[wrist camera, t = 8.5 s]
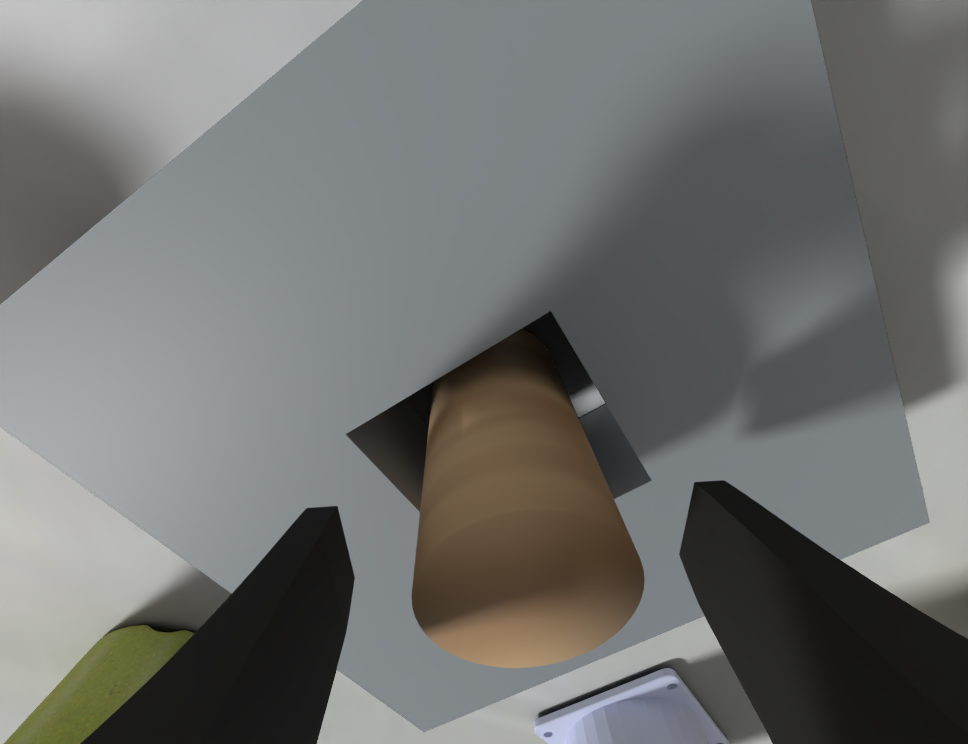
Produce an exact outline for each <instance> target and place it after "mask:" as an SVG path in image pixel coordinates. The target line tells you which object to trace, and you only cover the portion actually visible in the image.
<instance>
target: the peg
mask: <svg viewBox="0 0 968 744" xmlns="http://www.w3.org/2000/svg"><path fill="white" fill-rule="evenodd" d="M644 581H645V577H644V569H643V566H642V563H641V560H640V557H639V555H638V553H637V550H636V548H635V546H634V543H633V541H632V539H631V537H630V534H629V532H628V530H627V528H626V525H625V523H624V521H623V518H622V516H621V514H620V512H619V509H618V507H617V505H616V503H615V500H614V498H613V496H612V493H611V491H610V489H609V487H608V484H607V482H606V480H605V478H604V475H603V473H602V471H601V469H600V466H599V464H598V462H597V459H596V457H595V455H594V453H593V450H592V448H591V446H590V444H589V441H588V439H587V437H586V434H585V432H584V430H583V428H582V425H581V423H580V421H579V419H578V416H577V414H576V412H575V409H574V407H573V405H572V403H571V400H570V398H569V396H568V394H567V391H566V389H565V387H564V384H563V382H562V380H561V378H560V375H559V373H558V371H557V369H556V366H555V364H554V362H553V359H552V357H551V355H550V353H549V351H548V350H547V348H546V347H545V346H544V344H543V343H542V342H541V341H540V340H539V339H538V338H537V337H535V336H534V335H533V334H531V333H529V332H528V331H526V330H524V329H520V330H518V331H517V332H515V333H513V334H512V335H510V336H508V337H507V338H505V339H503V340H502V341H500V342H498V343H497V344H495V345H493V346H492V347H490V348H488V349H487V350H485V351H483V352H482V353H480V354H478V355H477V356H475V357H473V358H472V359H470V360H468V361H467V362H465V363H463V364H462V365H460V366H458V367H457V368H455V369H453V370H452V371H450V372H448V373H447V374H445V375H443V376H442V377H440V378H438V379H437V380H435V381H433V390H432V400H431V410H430V419H429V429H428V439H427V449H426V459H425V468H424V478H423V488H422V498H421V508H420V517H419V527H418V537H417V547H416V557H415V566H414V576H413V586H412V596H411V597H412V608H413V611H414V615H415V618H416V620H417V622H418V624H419V626H420V627H421V629H422V630H423V631H424V633H425V634H426V635H427V636H428V637H429V638H430V639H431V640H432V641H433V642H434V643H435V644H437V645H438V646H439V647H441V648H442V649H444V650H445V651H447V652H449V653H451V654H452V655H455V656H457V657H459V658H462V659H464V660H467V661H470V662H474V663H477V664H482V665H487V666H493V667H501V668H529V667H537V666H544V665H549V664H554V663H558V662H562V661H565V660H569V659H572V658H574V657H577V656H580V655H582V654H584V653H586V652H588V651H590V650H593V649H594V648H596V647H598V646H599V645H601V644H603V643H604V642H606V641H607V640H609V639H610V638H611V637H613V636H614V635H615V634H616V633H617V632H618V631H620V630H621V629H622V628H623V627H624V626H625V624H626V623H627V622H628V621H629V620H630V619H631V617H632V616H633V614H634V613H635V611H636V609H637V607H638V605H639V603H640V601H641V598H642V594H643V591H644Z"/></svg>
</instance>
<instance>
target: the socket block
mask: <svg viewBox="0 0 968 744" xmlns="http://www.w3.org/2000/svg"><path fill="white" fill-rule="evenodd" d="M550 311H551V312H552V314H553V316H554V317H555V319H556V321H557V322H558V324H559V326H560V327H561V329H562V331H563V332H564V334H565V336H566V338H567V339H568V341H569V343H570V344H571V346H572V348H573V349H574V351H575V353H576V354H577V356H578V358H579V359H580V361H581V363H582V364H583V366H584V368H585V369H586V371H587V373H588V374H589V376H590V378H591V379H592V381H593V383H594V384H595V386H596V388H597V389H598V391H599V393H600V395H601V396H602V398H603V400H604V401H605V403H606V404H605V405H603V406H601V407H599V408H597V409H596V410H594V411H592V412H590V413H588V414H586V415H584V416H583V417H581V418H579V421H580V423H581V425H582V428H583V430H584V432H585V434H586V437H587V439H588V441H589V444H590V446H591V448H592V450H593V453H594V455H595V457H596V459H597V462H598V464H599V466H600V469H601V471H602V473H603V475H604V478H605V480H606V482H607V484H608V487H609V489H610V491H611V493H612V496H613V498H614V500H615V503H616V505H617V507H618V509H619V512H620V514H621V516H622V518H623V521H624V523H625V525H626V528H627V530H628V532H629V534H630V537H631V539H632V541H633V543H634V546H635V548H636V550H637V553H638V555H639V557H640V560H641V563H642V566H643V569H644V577H645V581H644V591H643V594H642V598H641V601H640V603H639V605H638V607H637V609H636V611H635V613H634V614H633V616H632V617H631V619H630V620H629V621H628V622H627V623H626V624H625V626H624V627H623V628H622V629H621V630H620V631H618V632H617V633H616V634H615V635H614V636H613V637H611V638H610V639H609V640H607V641H606V642H604V643H603V644H601V645H599V646H598V647H596V648H594V649H593V650H590V651H588V652H586V653H584V654H582V655H580V656H577V657H574V658H572V659H569V660H565V661H562V662H558V663H554V664H549V665H544V666H537V667H529V668H501V667H493V666H487V665H482V664H477V663H474V662H470V661H467V660H464V659H462V658H459V657H457V656H455V655H452V654H451V653H449V652H447V651H445V650H444V649H442V648H441V647H439V646H438V645H437V644H435V643H434V642H433V641H432V640H431V639H430V638H429V637H428V636H427V635H426V634H425V633H424V631H423V630H422V629H421V627H420V626H419V624H418V622H417V620H416V618H415V615H414V611H413V608H412V597H411V596H412V586H413V576H414V566H415V557H416V547H417V537H418V527H419V517H420V508H421V498H422V488H423V478H424V468H425V459H426V449H427V439H428V429H429V428H428V427H427V426H426V424H425V423H424V422H423V421H422V420H421V418H420V417H419V416H418V415H417V414H416V413H415V411H414V410H413V409H412V408H411V407H410V405H409V404H408V403H407V402H406V401H405V398H407V397H408V396H410V395H412V394H413V393H415V392H417V391H418V390H420V389H422V388H423V387H425V386H427V385H428V384H430V383H432V382H433V381H435V380H437V379H438V378H440V377H442V376H443V375H445V374H447V373H448V372H450V371H452V370H453V369H455V368H457V367H458V366H460V365H462V364H463V363H465V362H467V361H468V360H470V359H472V358H473V357H475V356H477V355H478V354H480V353H482V352H483V351H485V350H487V349H488V348H490V347H492V346H493V345H495V344H497V343H498V342H500V341H502V340H503V339H505V338H507V337H508V336H510V335H512V334H513V333H515V332H517V331H518V330H520V329H522V328H523V327H525V326H527V325H528V324H530V323H532V322H533V321H535V320H536V319H538V318H540V317H541V316H543V315H545V314H546V313H548V312H550ZM0 427H1V428H2V429H3V430H5V431H6V432H8V433H9V434H10V435H12V436H13V437H15V438H16V439H17V440H19V441H20V442H22V443H23V444H24V445H26V446H27V447H29V448H30V449H31V450H33V451H34V452H35V453H37V454H38V455H40V456H41V457H42V458H44V459H45V460H47V461H48V462H49V463H51V464H52V465H54V466H55V467H56V468H58V469H59V470H60V471H62V472H63V473H65V474H66V475H67V476H69V477H70V478H72V479H73V480H74V481H76V482H77V483H79V484H80V485H81V486H83V487H84V488H85V489H87V490H88V491H90V492H91V493H92V494H94V495H95V496H97V497H98V498H99V499H101V500H102V501H104V502H105V503H106V504H108V505H109V506H110V507H112V508H113V509H115V510H116V511H117V512H119V513H120V514H122V515H123V516H124V517H126V518H127V519H129V520H130V521H131V522H133V523H134V524H135V525H137V526H138V527H140V528H141V529H142V530H144V531H145V532H147V533H148V534H149V535H151V536H152V537H154V538H155V539H156V540H158V541H159V542H160V543H162V544H163V545H165V546H166V547H167V548H169V549H170V550H172V551H173V552H174V553H176V554H177V555H179V556H180V557H181V558H183V559H184V560H185V561H187V562H188V563H190V564H191V565H192V566H194V567H195V568H197V569H198V570H199V571H201V572H202V573H204V574H205V575H206V576H208V577H209V578H211V579H212V580H213V581H215V582H216V583H217V584H219V585H220V586H222V587H223V588H224V589H226V590H227V591H229V592H230V593H231V594H232V593H233V592H234V591H235V589H236V588H237V587H238V586H239V585H240V584H241V583H242V582H243V581H244V579H245V578H246V577H247V576H248V575H249V574H250V573H251V572H252V570H253V569H254V568H255V567H256V566H257V565H258V564H259V562H260V561H261V560H262V559H263V558H264V557H265V555H266V554H267V553H268V552H269V551H270V550H271V548H272V547H273V546H274V545H275V544H276V543H277V541H278V540H279V539H280V538H281V537H282V536H283V534H284V533H285V532H286V531H287V530H288V529H289V527H290V526H291V525H292V524H293V523H294V522H295V520H296V519H297V518H298V517H299V516H300V515H301V514H302V512H303V511H304V510H305V509H306V508H314V507H329V506H338V510H339V514H340V518H341V523H342V527H343V531H344V535H345V539H346V543H347V547H348V551H349V556H350V560H351V564H352V568H353V572H354V576H355V580H354V587H353V594H352V601H351V607H350V614H349V620H348V626H347V631H346V635H345V639H344V643H343V647H342V651H341V654H340V658H339V662H338V666H337V670H338V671H340V672H341V673H342V674H344V675H345V676H347V677H348V678H349V679H351V680H352V681H354V682H355V683H356V684H358V685H359V686H361V687H362V688H363V689H365V690H366V691H367V692H369V693H370V694H372V695H373V696H374V697H376V698H377V699H379V700H380V701H381V702H383V703H384V704H386V705H387V706H388V707H390V708H391V709H393V710H394V711H395V712H397V713H398V714H399V715H401V716H402V717H404V718H405V719H406V720H408V721H409V722H411V723H412V724H413V725H415V726H416V727H418V728H419V729H420V730H422V731H423V732H426V731H428V730H430V729H433V728H435V727H438V726H440V725H442V724H445V723H447V722H450V721H452V720H455V719H457V718H459V717H462V716H464V715H467V714H469V713H471V712H474V711H476V710H479V709H481V708H483V707H486V706H488V705H491V704H493V703H496V702H498V701H500V700H503V699H505V698H508V697H510V696H512V695H515V694H517V693H520V692H522V691H524V690H527V689H529V688H532V687H534V686H537V685H539V684H541V683H544V682H546V681H549V680H551V679H553V678H556V677H558V676H561V675H563V674H565V673H568V672H570V671H573V670H575V669H578V668H580V667H582V666H585V665H587V664H590V663H592V662H594V661H597V660H599V659H602V658H604V657H606V656H609V655H611V654H614V653H616V652H619V651H621V650H623V649H626V648H628V647H631V646H633V645H635V644H638V643H640V642H643V641H645V640H647V639H650V638H652V637H655V636H657V635H660V634H662V633H664V632H667V631H669V630H672V629H674V628H676V627H679V626H681V625H684V624H686V623H688V622H691V621H693V620H696V619H698V618H701V617H703V616H705V615H704V614H703V612H702V610H701V608H700V606H699V604H698V601H697V599H696V596H695V594H694V592H693V589H692V587H691V584H690V582H689V579H688V577H687V574H686V571H685V569H684V566H683V563H682V561H681V558H680V556H679V553H680V548H681V543H682V538H683V534H684V529H685V524H686V519H687V515H688V510H689V505H690V500H691V496H692V491H693V486H694V482H704V481H719V480H724V481H726V482H728V483H729V484H731V485H732V486H734V487H735V488H737V489H738V490H740V491H741V492H743V493H744V494H746V495H747V496H749V497H750V498H751V499H753V500H754V501H756V502H757V503H759V504H760V505H761V506H763V507H764V508H766V509H767V510H769V511H770V512H771V513H773V514H774V515H776V516H777V517H779V518H780V519H781V520H783V521H784V522H786V523H787V524H789V525H790V526H791V527H793V528H794V529H796V530H797V531H799V532H800V533H801V534H803V535H804V536H806V537H807V538H809V539H810V540H812V541H813V542H814V543H816V544H817V545H819V546H820V547H822V548H823V549H825V550H826V551H828V552H829V553H831V554H832V555H834V556H835V557H836V558H838V559H839V560H840V559H843V558H845V557H848V556H850V555H853V554H855V553H857V552H860V551H862V550H865V549H867V548H869V547H872V546H874V545H877V544H879V543H881V542H884V541H886V540H889V539H891V538H894V537H896V536H898V535H901V534H903V533H906V532H908V531H910V530H913V529H915V528H918V527H920V526H922V525H925V524H927V523H930V521H929V517H928V512H927V508H926V504H925V499H924V495H923V491H922V486H921V482H920V477H919V473H918V469H917V464H916V460H915V455H914V451H913V447H912V442H911V438H910V433H909V429H908V425H907V420H906V416H905V412H904V407H903V403H902V398H901V394H900V390H899V385H898V381H897V376H896V372H895V368H894V363H893V359H892V355H891V350H890V346H889V341H888V337H887V333H886V328H885V324H884V319H883V315H882V311H881V306H880V302H879V297H878V293H877V289H876V284H875V280H874V276H873V271H872V267H871V262H870V258H869V254H868V249H867V245H866V240H865V236H864V232H863V227H862V223H861V219H860V214H859V210H858V205H857V201H856V197H855V192H854V188H853V183H852V179H851V175H850V170H849V166H848V161H847V157H846V153H845V148H844V144H843V140H842V135H841V131H840V126H839V122H838V118H837V113H836V109H835V104H834V100H833V96H832V91H831V87H830V82H829V78H828V74H827V69H826V65H825V61H824V56H823V52H822V47H821V43H820V39H819V34H818V30H817V25H816V21H815V17H814V12H813V8H812V4H811V0H363V1H362V2H360V3H359V4H358V5H357V6H356V7H354V8H353V9H352V10H351V11H350V12H349V13H347V14H346V15H345V16H344V17H343V18H341V19H340V20H339V21H338V22H337V23H335V24H334V25H333V26H332V27H331V28H329V29H328V30H327V31H326V32H325V33H323V34H322V35H321V36H320V37H319V38H318V39H316V40H315V41H314V42H313V43H312V44H310V45H309V46H308V47H307V48H306V49H304V50H303V51H302V52H301V53H300V54H298V55H297V56H296V57H295V58H294V59H292V60H291V61H290V62H289V63H288V64H287V65H285V66H284V67H283V68H282V69H281V70H279V71H278V72H277V73H276V74H275V75H273V76H272V77H271V78H270V79H269V80H267V81H266V82H265V83H264V84H263V85H261V86H260V87H259V88H258V89H257V90H256V91H254V92H253V93H252V94H251V95H250V96H248V97H247V98H246V99H245V100H244V101H242V102H241V103H240V104H239V105H238V106H236V107H235V108H234V109H233V110H232V111H230V112H229V113H228V114H227V115H226V116H224V117H223V118H222V119H221V120H220V121H219V122H217V123H216V124H215V125H214V126H213V127H211V128H210V129H209V130H208V131H207V132H205V133H204V134H203V135H202V136H201V137H199V138H198V139H197V140H196V141H195V142H193V143H192V144H191V145H190V146H189V147H188V148H186V149H185V150H184V151H183V152H182V153H180V154H179V155H178V156H177V157H176V158H174V159H173V160H172V161H171V162H170V163H168V164H167V165H166V166H165V167H164V168H162V169H161V170H160V171H159V172H158V173H157V174H155V175H154V176H153V177H152V178H151V179H149V180H148V181H147V182H146V183H145V184H143V185H142V186H141V187H140V188H139V189H137V190H136V191H135V192H134V193H133V194H131V195H130V196H129V197H128V198H127V199H126V200H124V201H123V202H122V203H121V204H120V205H118V206H117V207H116V208H115V209H114V210H112V211H111V212H110V213H109V214H108V215H106V216H105V217H104V218H103V219H102V220H100V221H99V222H98V223H97V224H96V225H95V226H93V227H92V228H91V229H90V230H89V231H87V232H86V233H85V234H84V235H83V236H81V237H80V238H79V239H78V240H77V241H75V242H74V243H73V244H72V245H71V246H69V247H68V248H67V249H66V250H65V251H64V252H62V253H61V254H60V255H59V256H58V257H56V258H55V259H54V260H53V261H52V262H50V263H49V264H48V265H47V266H46V267H44V268H43V269H42V270H41V271H40V272H38V273H37V274H36V275H35V276H34V277H32V278H31V279H30V280H29V281H28V282H27V283H25V284H24V285H23V286H22V287H21V288H19V289H18V290H17V291H16V292H15V293H13V294H12V295H11V296H10V297H9V298H7V299H6V300H5V301H4V302H3V303H1V304H0Z"/></svg>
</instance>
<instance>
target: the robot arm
mask: <svg viewBox="0 0 968 744" xmlns="http://www.w3.org/2000/svg"><path fill="white" fill-rule="evenodd" d="M679 556H680V558H681V561H682V563H683V566H684V569H685V571H686V574H687V577H688V579H689V582H690V584H691V587H692V589H693V592H694V594H695V596H696V599H697V601H698V604H699V606H700V608H701V610H702V612H703V614H704V615H705V617H706V619H707V621H708V623H709V625H710V627H711V629H712V631H713V632H714V634H715V636H716V638H717V640H718V642H719V644H720V646H721V647H722V649H723V651H724V653H725V655H726V657H727V659H728V660H729V662H730V664H731V666H732V668H733V670H734V671H735V673H736V675H737V677H738V679H739V681H740V683H741V684H742V686H743V688H744V690H745V692H746V694H747V696H748V697H749V699H750V701H751V703H752V705H753V707H754V708H755V710H756V712H757V714H758V716H759V718H760V720H761V721H762V723H763V725H764V727H765V729H766V731H767V733H768V735H769V737H770V739H771V741H772V743H773V744H968V639H967V638H965V637H963V636H961V635H960V634H958V633H956V632H954V631H953V630H951V629H949V628H947V627H946V626H944V625H942V624H941V623H939V622H937V621H936V620H934V619H932V618H931V617H929V616H927V615H926V614H924V613H922V612H921V611H919V610H917V609H916V608H914V607H913V606H911V605H909V604H908V603H906V602H905V601H903V600H902V599H900V598H898V597H897V596H895V595H894V594H892V593H890V592H889V591H887V590H886V589H884V588H882V587H881V586H879V585H878V584H876V583H874V582H873V581H871V580H870V579H868V578H867V577H865V576H864V575H862V574H861V573H859V572H858V571H856V570H855V569H853V568H851V567H850V566H848V565H847V564H845V563H844V562H842V561H841V560H839V559H838V558H836V557H835V556H834V555H832V554H831V553H829V552H828V551H826V550H825V549H823V548H822V547H820V546H819V545H817V544H816V543H814V542H813V541H812V540H810V539H809V538H807V537H806V536H804V535H803V534H801V533H800V532H799V531H797V530H796V529H794V528H793V527H791V526H790V525H789V524H787V523H786V522H784V521H783V520H781V519H780V518H779V517H777V516H776V515H774V514H773V513H771V512H770V511H769V510H767V509H766V508H764V507H763V506H761V505H760V504H759V503H757V502H756V501H754V500H753V499H751V498H750V497H749V496H747V495H746V494H744V493H743V492H741V491H740V490H738V489H737V488H735V487H734V486H732V485H731V484H729V483H728V482H726V481H724V480H719V481H704V482H694V486H693V491H692V496H691V500H690V505H689V510H688V515H687V519H686V524H685V529H684V534H683V538H682V543H681V548H680V553H679ZM354 580H355V576H354V572H353V568H352V564H351V560H350V556H349V551H348V547H347V543H346V539H345V535H344V531H343V527H342V523H341V518H340V514H339V510H338V506H329V507H314V508H306V509H305V510H304V511H303V512H302V514H301V515H300V516H299V517H298V518H297V519H296V520H295V522H294V523H293V524H292V525H291V526H290V527H289V529H288V530H287V531H286V532H285V533H284V534H283V536H282V537H281V538H280V539H279V540H278V541H277V543H276V544H275V545H274V546H273V547H272V548H271V550H270V551H269V552H268V553H267V554H266V555H265V557H264V558H263V559H262V560H261V561H260V562H259V564H258V565H257V566H256V567H255V568H254V569H253V570H252V572H251V573H250V574H249V575H248V576H247V577H246V578H245V579H244V581H243V582H242V583H241V584H240V585H239V586H238V587H237V588H236V589H235V591H234V592H233V593H232V594H231V595H230V596H229V597H228V598H227V600H226V601H225V602H224V603H223V604H222V605H221V606H220V607H219V608H218V609H217V611H216V612H215V613H214V614H213V615H212V616H211V617H210V618H209V619H208V620H207V621H206V622H205V623H204V624H203V625H202V626H201V627H200V628H199V629H198V630H197V632H196V633H195V634H194V635H193V636H192V637H191V638H190V639H189V640H188V641H187V642H186V643H185V644H184V645H183V646H182V647H181V648H180V649H179V650H178V651H177V652H176V653H175V654H174V655H173V656H172V657H171V658H170V659H169V660H168V661H167V662H166V663H165V664H164V665H163V666H162V667H161V668H160V669H159V670H158V671H157V672H156V673H155V674H154V675H153V676H152V677H151V678H150V679H149V680H148V681H147V682H146V683H145V684H144V685H143V686H142V687H141V688H140V689H139V690H138V691H137V692H136V693H135V694H134V695H133V696H132V697H130V698H129V699H128V700H127V701H126V702H125V703H124V704H123V705H122V706H121V707H120V708H119V709H118V710H116V711H115V712H114V713H113V714H112V715H111V716H110V717H109V718H108V719H107V720H106V721H105V722H103V723H102V724H101V725H100V726H99V727H98V728H97V729H96V730H95V731H94V732H93V733H91V734H90V735H89V736H88V737H87V738H86V739H85V740H84V741H82V742H81V743H80V744H317V740H318V736H319V733H320V729H321V725H322V722H323V718H324V714H325V710H326V707H327V703H328V699H329V696H330V692H331V688H332V685H333V681H334V677H335V673H336V670H337V666H338V662H339V658H340V654H341V651H342V647H343V643H344V639H345V635H346V631H347V626H348V620H349V614H350V607H351V601H352V594H353V587H354ZM533 727H534V732H535V733H536V734H537V735H538V736H540V737H541V738H542V739H543V740H544V741H545V742H546V743H548V744H730V742H729V741H728V740H727V738H726V737H725V736H724V734H723V733H722V732H721V731H720V729H719V728H718V727H717V725H716V724H715V723H714V721H713V720H712V719H711V717H710V716H709V715H708V714H707V712H706V711H705V710H704V708H703V707H702V706H701V704H700V703H699V702H698V700H697V699H696V698H695V697H694V695H693V694H692V693H691V691H690V690H689V689H688V687H687V686H686V685H685V683H684V682H683V681H682V680H681V678H680V677H679V676H678V674H677V673H676V672H675V671H674V670H673V669H671V668H664V669H661V670H658V671H656V672H653V673H651V674H648V675H646V676H643V677H641V678H638V679H636V680H633V681H631V682H628V683H626V684H623V685H621V686H618V687H615V688H613V689H610V690H608V691H605V692H603V693H600V694H598V695H595V696H593V697H590V698H588V699H585V700H583V701H580V702H578V703H575V704H573V705H570V706H568V707H565V708H563V709H560V710H558V711H555V712H553V713H550V714H548V715H545V716H543V717H540V718H538V719H536V720H535V721H534V722H533Z"/></svg>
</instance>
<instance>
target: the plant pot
mask: <svg viewBox="0 0 968 744" xmlns="http://www.w3.org/2000/svg"><path fill="white" fill-rule="evenodd" d="M194 634H195V633H193V632H189V631H186V630H181V631H177V632H170V633H167V632H158V631H155V630H153V629H151V628H150V627H149V626H147V625H138V626H130V627H125V628H121V629H118V630H116V631H113V632H111V633H109V634H107V635H105V636H104V637H103V638H102V639H100V640H99V641H98V642H97V643H96V644H95V645H94V646H93V647H92V648H91V649H90V650H89V651H88V652H87V654H86V655H85V656H84V657H83V658H82V659H81V660H80V661H79V662H78V663H77V664H76V666H75V667H74V668H73V669H72V670H71V671H70V672H69V673H68V674H67V675H66V677H65V678H64V679H63V680H62V681H61V682H60V683H59V684H58V685H57V686H56V688H55V689H54V690H53V691H52V692H51V693H50V694H49V695H48V696H47V697H46V698H45V700H44V701H43V702H42V703H41V704H40V705H39V706H38V707H37V708H36V709H35V710H34V711H33V712H32V714H31V715H30V716H29V717H28V718H27V719H26V720H25V721H24V722H23V723H22V724H21V725H20V727H19V728H18V729H17V730H16V731H15V732H14V733H13V734H12V735H11V736H10V738H9V739H8V740H7V741H6V742H5V743H4V744H80V743H81V742H82V741H84V740H85V739H86V738H87V737H88V736H89V735H90V734H91V733H93V732H94V731H95V730H96V729H97V728H98V727H99V726H100V725H101V724H102V723H103V722H105V721H106V720H107V719H108V718H109V717H110V716H111V715H112V714H113V713H114V712H115V711H116V710H118V709H119V708H120V707H121V706H122V705H123V704H124V703H125V702H126V701H127V700H128V699H129V698H130V697H132V696H133V695H134V694H135V693H136V692H137V691H138V690H139V689H140V688H141V687H142V686H143V685H144V684H145V683H146V682H147V681H148V680H149V679H150V678H151V677H152V676H153V675H154V674H155V673H156V672H157V671H158V670H159V669H160V668H161V667H162V666H163V665H164V664H165V663H166V662H167V661H168V660H169V659H170V658H171V657H172V656H173V655H174V654H175V653H176V652H177V651H178V650H179V649H180V648H181V647H182V646H183V645H184V644H185V643H186V642H187V641H188V640H189V639H190V638H191V637H192V636H193V635H194Z"/></svg>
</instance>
